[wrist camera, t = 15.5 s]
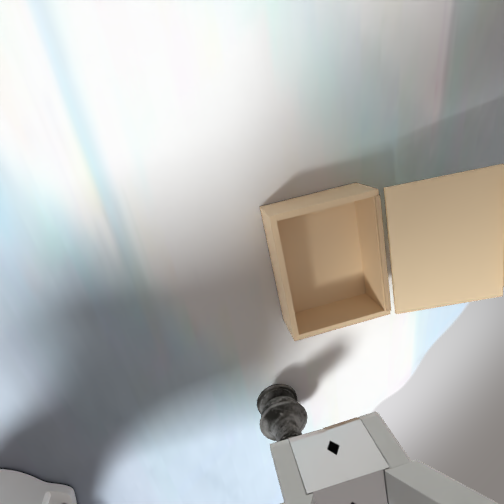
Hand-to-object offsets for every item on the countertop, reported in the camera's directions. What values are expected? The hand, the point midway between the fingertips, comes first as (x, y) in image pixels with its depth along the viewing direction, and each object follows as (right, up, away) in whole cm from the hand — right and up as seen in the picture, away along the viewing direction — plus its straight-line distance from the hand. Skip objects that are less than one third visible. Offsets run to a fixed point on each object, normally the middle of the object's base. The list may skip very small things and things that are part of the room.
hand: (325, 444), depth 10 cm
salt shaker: (+1, -14, +38) cm, 41 cm away
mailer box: (+6, +5, +33) cm, 33 cm away
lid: (+18, +6, +27) cm, 33 cm away
